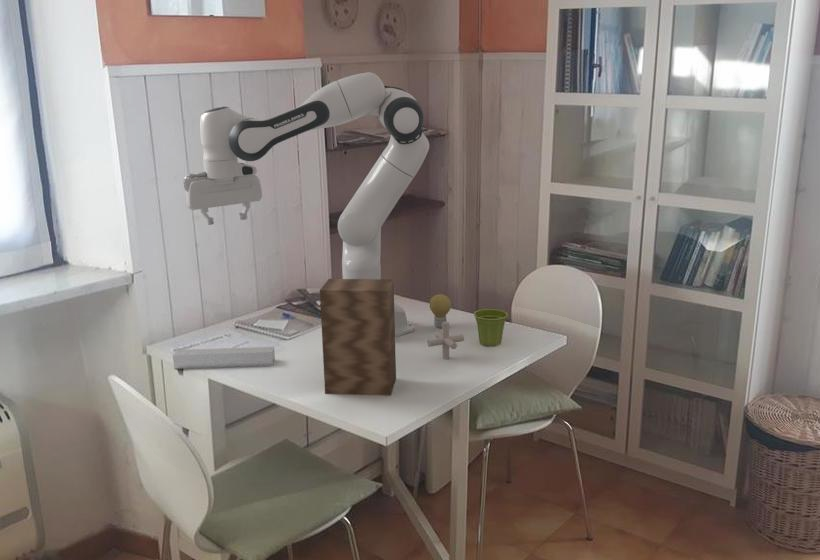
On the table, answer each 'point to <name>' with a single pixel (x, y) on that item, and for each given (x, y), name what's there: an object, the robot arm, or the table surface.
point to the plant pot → (490, 326)
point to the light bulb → (440, 308)
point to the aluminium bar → (224, 357)
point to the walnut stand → (358, 336)
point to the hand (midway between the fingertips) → (227, 221)
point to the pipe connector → (445, 340)
